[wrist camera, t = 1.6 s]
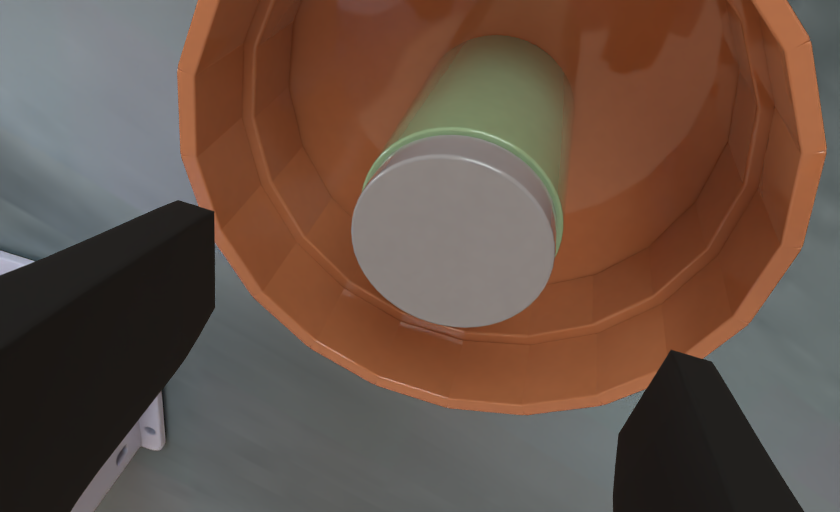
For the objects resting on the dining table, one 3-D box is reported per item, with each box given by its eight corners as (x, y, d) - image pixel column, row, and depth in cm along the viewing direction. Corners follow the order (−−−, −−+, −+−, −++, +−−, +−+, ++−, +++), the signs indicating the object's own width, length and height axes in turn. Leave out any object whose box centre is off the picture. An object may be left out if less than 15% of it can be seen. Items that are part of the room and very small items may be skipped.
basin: (638, 342, 21) (646, 471, 17) (263, 228, 22) (186, 326, 18) (889, -99, 13) (1014, -53, 9) (288, -249, 14) (162, -265, 10)
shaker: (547, 196, 18) (523, 356, 13) (410, 156, 18) (333, 298, 13) (597, 58, 16) (594, 189, 10) (439, 15, 16) (359, 121, 11)
